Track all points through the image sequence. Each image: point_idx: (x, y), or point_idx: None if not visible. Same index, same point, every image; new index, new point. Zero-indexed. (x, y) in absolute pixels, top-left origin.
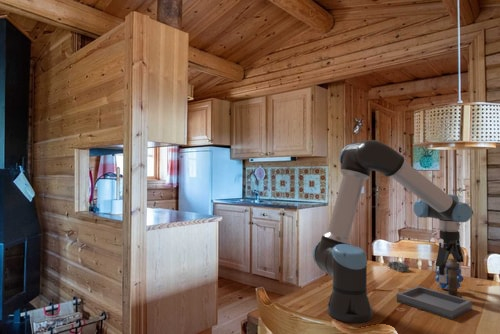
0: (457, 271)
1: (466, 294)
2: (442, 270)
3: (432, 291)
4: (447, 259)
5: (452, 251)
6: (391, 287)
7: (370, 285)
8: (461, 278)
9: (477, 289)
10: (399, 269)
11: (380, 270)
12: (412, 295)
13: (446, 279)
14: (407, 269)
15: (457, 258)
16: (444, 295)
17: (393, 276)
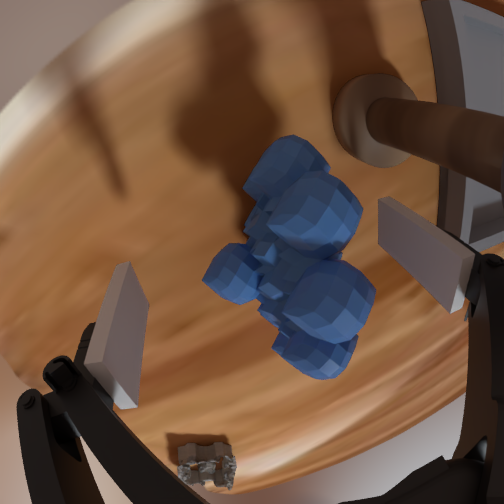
0: (353, 195)
1: (224, 122)
2: (472, 249)
3: (473, 181)
4: (491, 327)
5: (375, 500)
6: (436, 322)
7: (456, 346)
8: (308, 143)
9: (55, 175)
10: (228, 452)
11: (282, 452)
12: (494, 216)
13: (397, 208)
14: (193, 449)
15: (119, 419)
16: None
17: (307, 415)
